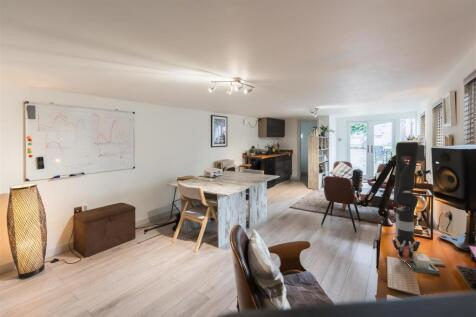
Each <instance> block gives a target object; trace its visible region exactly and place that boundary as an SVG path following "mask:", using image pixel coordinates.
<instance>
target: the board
mask: <svg viewBox="0 0 476 317" xmlns="http://www.w3.org/2000/svg"><path fill="white" fill-rule="evenodd" d="M427 257H428V259H429V260H430V263H431V264H432V265H434V266H439V267H446V264H445V262H443V261H442V260H441V259H440V258H439V257H429V256H427ZM397 258H398V259H400V261H401V260H402V261H405V262H406V259H403V258H401V257H400V256H399V255H398V254H397ZM409 260H413V261H414V255H413V257H412V258H410V259H409ZM402 261H401V262H402ZM405 262H404V263H405Z"/></svg>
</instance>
